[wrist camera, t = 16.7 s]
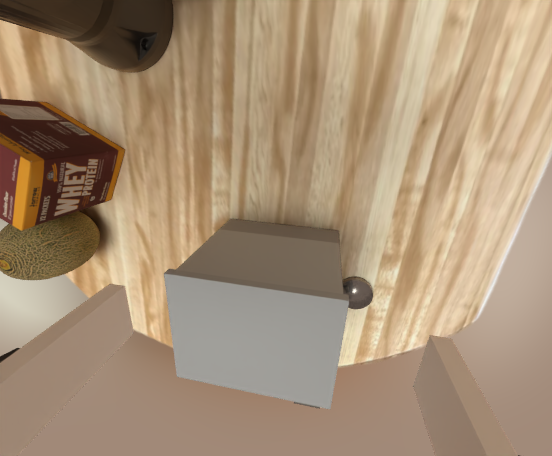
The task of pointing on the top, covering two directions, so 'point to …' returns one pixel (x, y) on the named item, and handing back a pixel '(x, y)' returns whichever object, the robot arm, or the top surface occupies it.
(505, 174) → the top surface
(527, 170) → the top surface
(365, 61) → the top surface
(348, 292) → the steel puck
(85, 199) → the supplement box
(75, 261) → the fruit
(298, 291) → the cabinet
